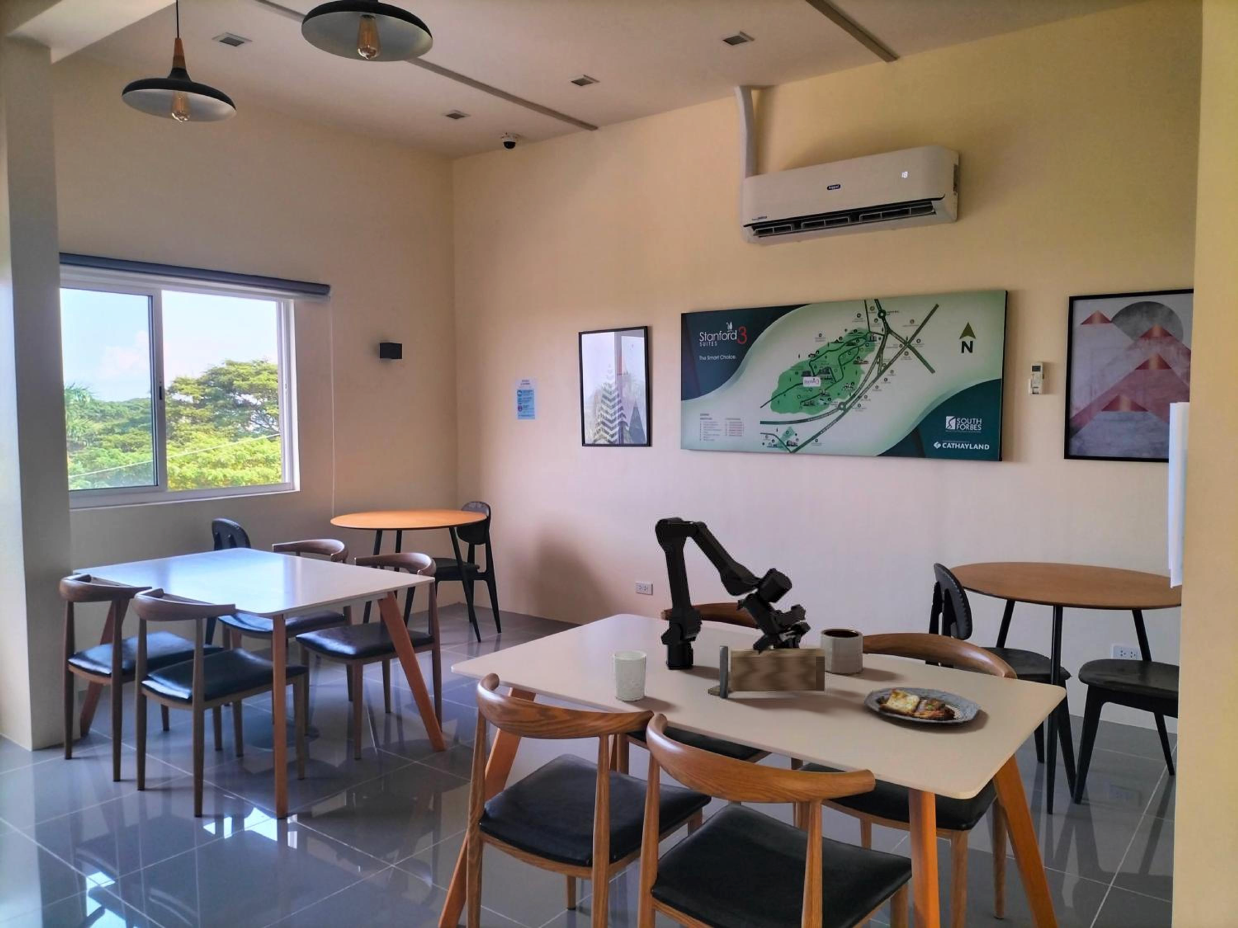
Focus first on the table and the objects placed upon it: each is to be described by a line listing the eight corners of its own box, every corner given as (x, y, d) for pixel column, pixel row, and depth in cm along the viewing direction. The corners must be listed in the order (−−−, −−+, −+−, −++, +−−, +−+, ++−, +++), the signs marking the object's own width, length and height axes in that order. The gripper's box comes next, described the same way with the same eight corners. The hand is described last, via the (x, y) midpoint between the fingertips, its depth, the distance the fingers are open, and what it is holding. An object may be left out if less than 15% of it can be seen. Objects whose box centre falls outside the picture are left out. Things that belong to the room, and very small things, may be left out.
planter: (816, 672, 223) (817, 635, 222) (823, 661, 233) (823, 626, 232) (860, 677, 218) (860, 639, 218) (864, 665, 229) (865, 630, 228)
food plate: (965, 738, 175) (965, 721, 175) (852, 719, 188) (852, 703, 188) (986, 707, 196) (986, 692, 196) (883, 692, 209) (883, 677, 209)
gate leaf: (731, 691, 202) (731, 650, 201) (730, 689, 203) (730, 648, 203) (824, 691, 202) (825, 650, 201) (822, 688, 204) (823, 648, 203)
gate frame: (725, 698, 201) (725, 648, 201) (705, 694, 205) (705, 644, 204) (782, 674, 220) (782, 628, 220) (763, 670, 224) (763, 625, 224)
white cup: (651, 694, 205) (651, 652, 204) (638, 704, 198) (638, 661, 197) (621, 690, 208) (621, 649, 208) (607, 699, 201) (607, 657, 201)
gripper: (764, 600, 200) (805, 656, 193) (804, 588, 214) (844, 640, 207) (735, 628, 205) (775, 683, 199) (776, 615, 219) (814, 666, 212)
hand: (803, 667), depth 204 cm, fingers closed
